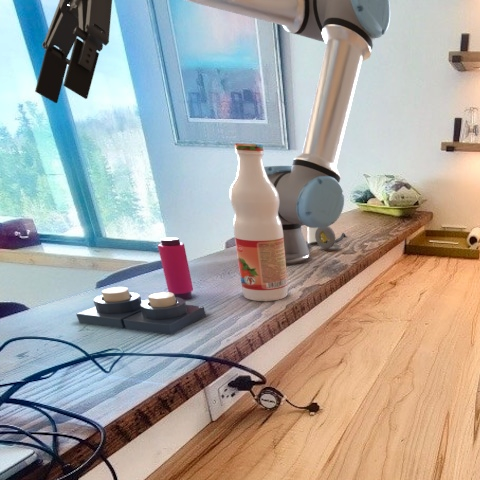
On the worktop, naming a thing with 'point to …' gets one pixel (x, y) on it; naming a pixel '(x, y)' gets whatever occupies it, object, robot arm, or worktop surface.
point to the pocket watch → (326, 235)
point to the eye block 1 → (111, 311)
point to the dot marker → (175, 267)
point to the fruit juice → (258, 228)
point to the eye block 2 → (164, 317)
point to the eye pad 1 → (115, 294)
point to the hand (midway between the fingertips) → (59, 95)
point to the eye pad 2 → (162, 299)
